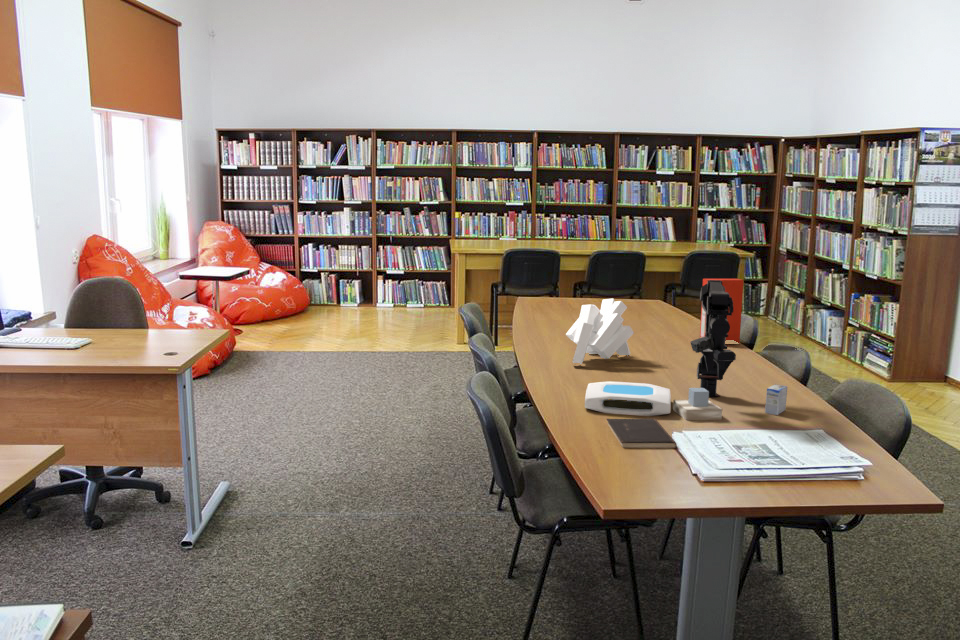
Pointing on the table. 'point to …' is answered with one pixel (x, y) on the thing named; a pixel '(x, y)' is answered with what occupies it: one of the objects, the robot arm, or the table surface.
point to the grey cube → (698, 397)
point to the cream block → (697, 411)
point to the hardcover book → (641, 433)
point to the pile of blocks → (600, 331)
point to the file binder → (736, 293)
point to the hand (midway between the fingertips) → (714, 375)
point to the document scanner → (628, 397)
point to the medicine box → (776, 399)
